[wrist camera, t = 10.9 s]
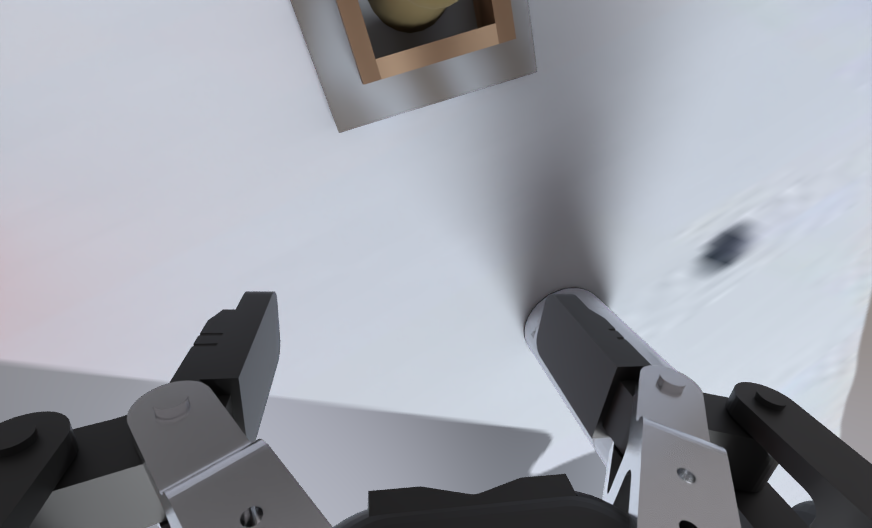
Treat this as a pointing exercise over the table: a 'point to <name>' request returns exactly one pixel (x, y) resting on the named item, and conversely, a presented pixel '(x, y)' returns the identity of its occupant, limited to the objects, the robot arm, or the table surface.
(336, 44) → the socket block
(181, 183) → the table surface
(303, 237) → the table surface
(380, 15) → the cork
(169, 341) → the table surface
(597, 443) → the robot arm
